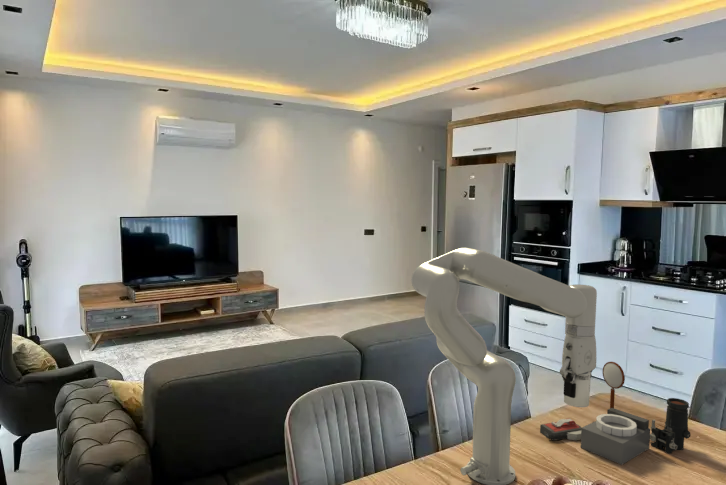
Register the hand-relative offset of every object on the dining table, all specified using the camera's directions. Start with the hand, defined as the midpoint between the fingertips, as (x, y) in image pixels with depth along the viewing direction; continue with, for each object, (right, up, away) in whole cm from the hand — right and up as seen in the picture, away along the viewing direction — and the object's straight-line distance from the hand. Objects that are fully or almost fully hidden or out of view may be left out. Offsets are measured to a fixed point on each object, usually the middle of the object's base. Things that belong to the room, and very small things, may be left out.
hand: (576, 393), depth 138 cm
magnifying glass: (+23, -18, +26) cm, 39 cm away
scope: (+32, -19, +9) cm, 38 cm away
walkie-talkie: (+6, -19, +18) cm, 26 cm away
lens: (0, -3, 0) cm, 3 cm away
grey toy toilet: (+15, -19, +8) cm, 25 cm away
